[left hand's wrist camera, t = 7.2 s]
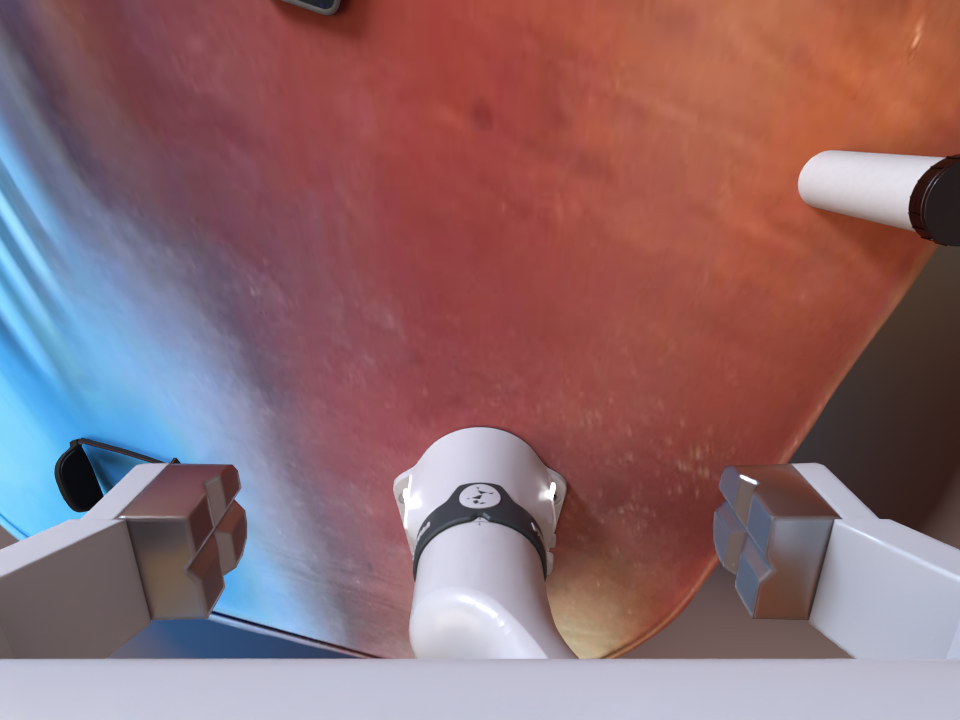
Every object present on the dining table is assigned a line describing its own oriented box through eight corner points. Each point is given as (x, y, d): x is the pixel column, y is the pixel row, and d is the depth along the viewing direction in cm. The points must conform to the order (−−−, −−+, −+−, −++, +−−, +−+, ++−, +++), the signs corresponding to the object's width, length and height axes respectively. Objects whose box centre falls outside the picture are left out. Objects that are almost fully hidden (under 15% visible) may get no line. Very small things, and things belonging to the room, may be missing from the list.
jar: (786, 194, 55) (908, 220, 39) (819, 140, 53) (960, 146, 38) (832, 217, 56) (970, 252, 40) (865, 164, 54) (1023, 180, 38)
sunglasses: (257, 530, 68) (241, 559, 63) (144, 563, 70) (120, 594, 65) (185, 402, 62) (161, 424, 58) (64, 441, 64) (31, 466, 59)
